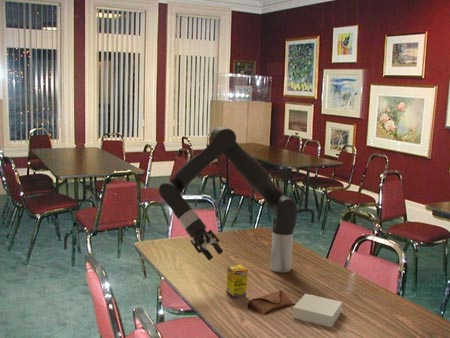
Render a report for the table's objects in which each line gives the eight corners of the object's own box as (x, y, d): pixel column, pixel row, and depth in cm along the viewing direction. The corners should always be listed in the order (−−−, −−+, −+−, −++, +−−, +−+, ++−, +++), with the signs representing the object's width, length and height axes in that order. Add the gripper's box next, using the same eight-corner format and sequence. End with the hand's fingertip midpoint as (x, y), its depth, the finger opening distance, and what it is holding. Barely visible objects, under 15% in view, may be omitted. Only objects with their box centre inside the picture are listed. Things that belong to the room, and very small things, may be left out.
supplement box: (233, 298, 195) (234, 271, 193) (225, 292, 200) (227, 266, 199) (246, 296, 198) (248, 269, 196) (239, 290, 203) (240, 264, 201)
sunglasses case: (263, 316, 181) (257, 297, 183) (251, 319, 186) (245, 301, 188) (296, 303, 193) (291, 286, 194) (284, 307, 198) (279, 290, 199)
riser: (304, 303, 193) (305, 293, 193) (341, 312, 187) (342, 301, 186) (292, 317, 181) (293, 307, 180) (331, 327, 175) (332, 316, 174)
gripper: (189, 221, 196) (214, 255, 193) (206, 214, 209) (230, 246, 206) (177, 232, 200) (201, 266, 196) (195, 224, 212) (218, 256, 209)
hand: (216, 256), depth 201 cm, fingers open, 8 cm apart
